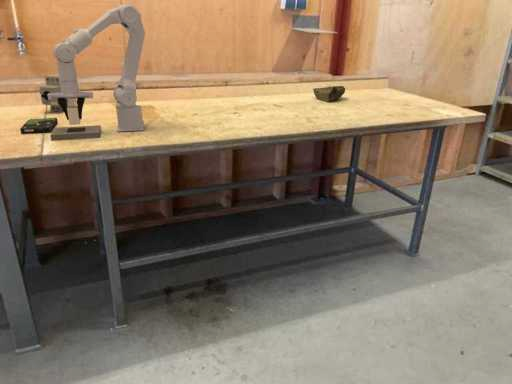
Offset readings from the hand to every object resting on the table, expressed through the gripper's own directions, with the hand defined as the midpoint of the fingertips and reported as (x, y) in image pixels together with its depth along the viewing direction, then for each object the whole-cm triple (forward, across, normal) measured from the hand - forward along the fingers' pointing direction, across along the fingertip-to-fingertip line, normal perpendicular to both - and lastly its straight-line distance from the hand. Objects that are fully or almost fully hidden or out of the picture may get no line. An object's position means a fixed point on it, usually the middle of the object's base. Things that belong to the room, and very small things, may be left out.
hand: (74, 119), depth 149 cm
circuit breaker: (+6, -11, +42) cm, 44 cm away
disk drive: (+7, -14, +13) cm, 20 cm away
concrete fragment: (+6, +121, +42) cm, 128 cm away
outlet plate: (+6, 0, 0) cm, 6 cm away
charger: (+2, 0, 0) cm, 2 cm away
